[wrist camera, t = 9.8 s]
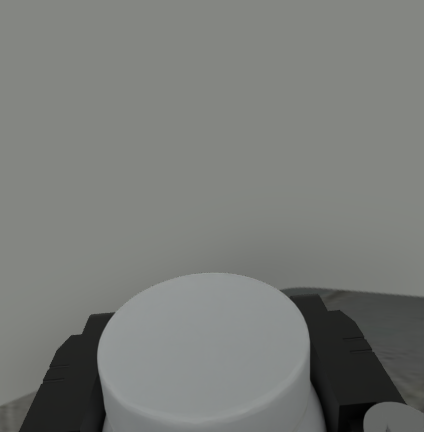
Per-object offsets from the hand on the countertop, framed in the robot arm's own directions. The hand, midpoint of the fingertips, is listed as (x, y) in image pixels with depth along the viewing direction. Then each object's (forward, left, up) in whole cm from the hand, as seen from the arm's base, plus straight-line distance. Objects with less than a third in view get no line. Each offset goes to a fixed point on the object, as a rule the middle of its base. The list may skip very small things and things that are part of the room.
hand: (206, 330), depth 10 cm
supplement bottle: (0, +3, -6) cm, 7 cm away
